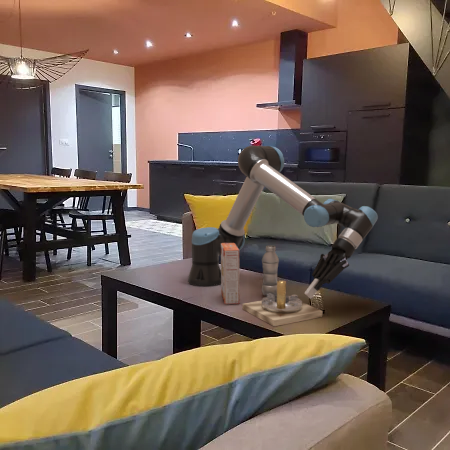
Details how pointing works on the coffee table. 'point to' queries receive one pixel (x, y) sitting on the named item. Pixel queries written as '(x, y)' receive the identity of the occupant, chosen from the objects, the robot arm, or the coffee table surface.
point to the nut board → (281, 314)
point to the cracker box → (230, 273)
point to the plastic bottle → (270, 271)
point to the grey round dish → (281, 300)
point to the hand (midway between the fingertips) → (307, 295)
